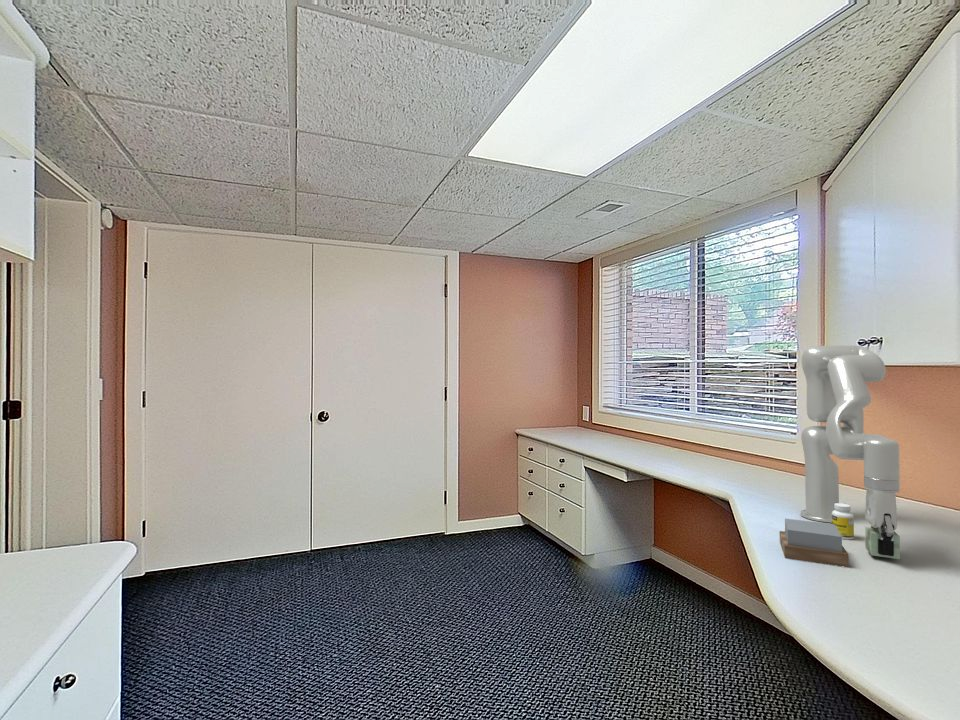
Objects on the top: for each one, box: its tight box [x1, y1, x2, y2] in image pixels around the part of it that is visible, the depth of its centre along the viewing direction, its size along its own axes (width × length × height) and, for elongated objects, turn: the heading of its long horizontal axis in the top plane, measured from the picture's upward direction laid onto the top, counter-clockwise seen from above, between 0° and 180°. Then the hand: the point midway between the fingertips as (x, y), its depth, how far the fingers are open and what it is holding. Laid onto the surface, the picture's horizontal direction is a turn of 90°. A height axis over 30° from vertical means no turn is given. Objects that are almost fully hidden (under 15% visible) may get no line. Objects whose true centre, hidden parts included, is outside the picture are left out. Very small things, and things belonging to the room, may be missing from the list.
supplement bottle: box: [831, 502, 855, 541], centre depth 150 cm, size 5×5×10 cm
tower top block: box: [784, 517, 843, 552], centre depth 136 cm, size 12×12×4 cm
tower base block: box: [779, 530, 850, 568], centre depth 136 cm, size 14×14×4 cm
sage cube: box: [864, 526, 901, 560], centre depth 133 cm, size 6×6×6 cm
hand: (882, 549), depth 133 cm, fingers closed on sage cube, 6 cm apart
